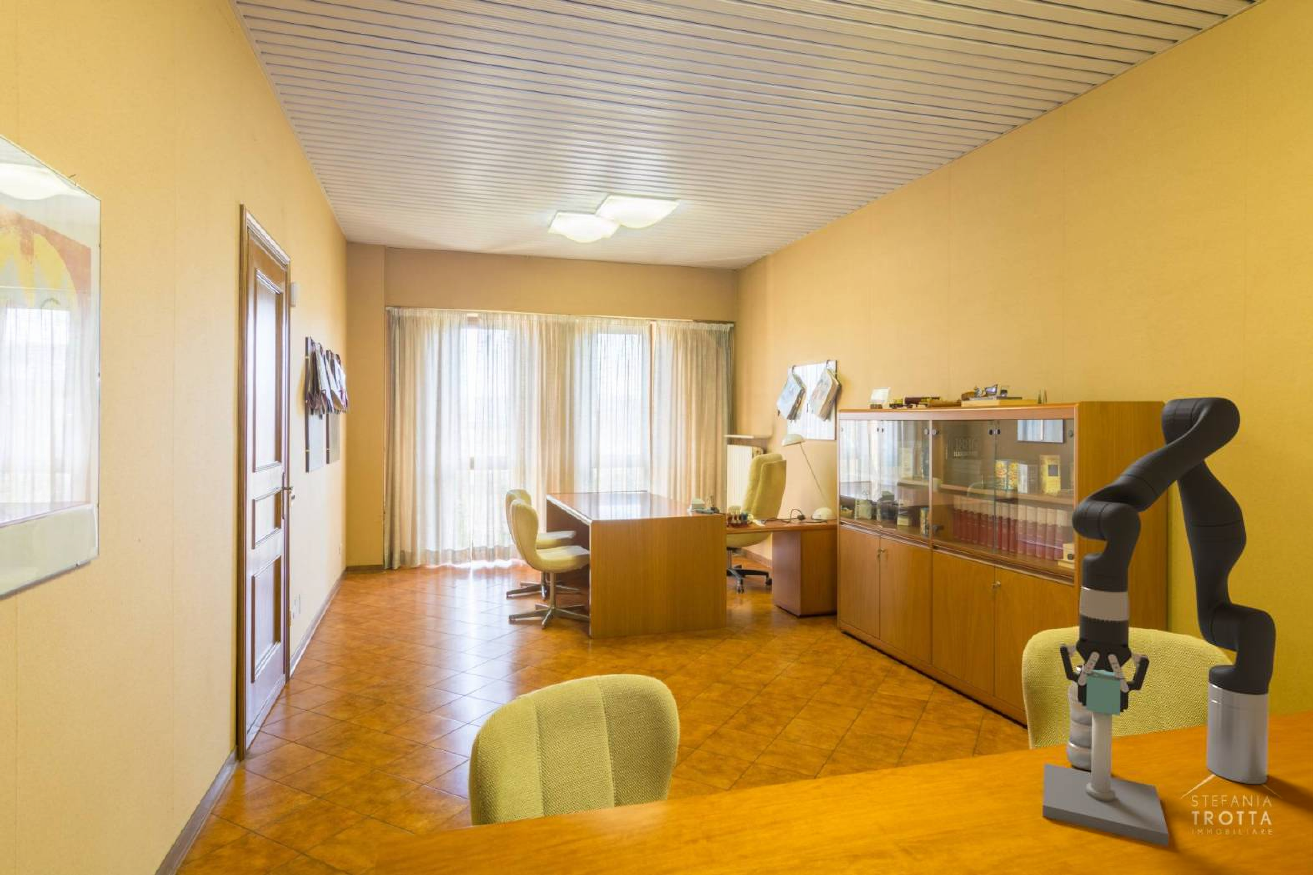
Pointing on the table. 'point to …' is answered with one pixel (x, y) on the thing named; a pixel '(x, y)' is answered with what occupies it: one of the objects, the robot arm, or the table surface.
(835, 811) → the table surface
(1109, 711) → the teal cube
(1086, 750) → the plastic bottle
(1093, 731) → the post stand
